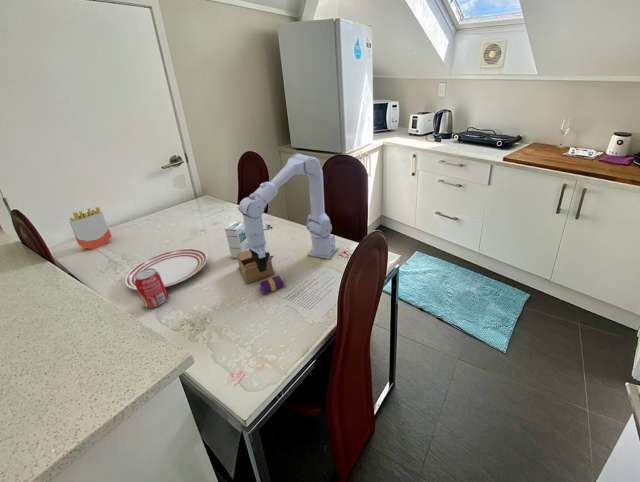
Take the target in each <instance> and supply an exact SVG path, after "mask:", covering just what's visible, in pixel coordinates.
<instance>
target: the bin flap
mask: <svg viewBox="0 0 640 482" xmlns="http://www.w3.org/2000/svg"><path fill="white" fill-rule="evenodd" d="M273 257H274V256H273V255H270V256H269V258H268V261H270V260H271V261H272V259H273ZM255 265H257V264H256V262H252V263H249V264H246V265H245V268H244V269H247V268H250V267H253V266H255Z"/></svg>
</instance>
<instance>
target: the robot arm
mask: <svg viewBox="0 0 640 482" xmlns="http://www.w3.org/2000/svg"><path fill="white" fill-rule="evenodd" d="M298 175H299V176H301V175H302V176H303V175H305V176H307V177H308V186H309V188H308V189H309V202H310V203H309V204H310V213H309V214H308V215H307V220H306V221H307V222H306V224H305V226H306V230H307V231H309V234H310V238H311V239H310V240H311V248H312V250H311V251H310V252H309V254H308V256H311V257H315V258H316V257H317V258H321V259H326V260H327V259H328V260H329V259H330V258H331V257H332V256H333V255H334V253H335V252H336V251H337V248H336V247H337V246H336V237H335V236H334V235H332V234H331V232H332V230H333V226H332V223H331V219H330V217H329V216H328V215H327V214H326V212H325V209H326V208H325V192H324V191H325V190H324V189H325V188H324V173H323V168H322V167H321V161H320V159H318V158H317V157H315V156H311V155H310V156H309V155H306V154H301V153H298V152H297V153H294V154H293V155H292V156H291V157H289V158H288V160H287V162H286V164H285V165H284V166H283V167H282V168H281V169H280V171H279V172H278V173H277V174H276V175H275V176H274V177H273V178H272V179H271V180H270V181H264V182H261V184H259V187H258V188H257V189H256V190H255V191H253V193H250V194H249V196H247V197H244V198H243V199H241V201H240V202H239V205H238V207H237V210H238V212H239V213H240V214H242V217H243V223H244V225H245V231H246V237H247V244H246V245H244V247H245V249H248V248H249V250H250V251H251V254H252V256H251V257H252V259H253V260H254V261H255V262H256V264H257V267H258V270H259V272H264V271H266V267H267V261H268V258H269V257H271V254H270V252H269V251H267V252H266V246H267V241H266V238H265V229H264V222H263V216H262V215H263V214H264V212H265V208H266V207H267V205H268V204H269V203H270V202H271V201H272V200H273V199H274V198H275V197H276V196H277V195H278V193H279V188H281V187H282V186H283V185H284V184H285V183H287V182H288V181H289V180H290V179H291V178H292V177H293V176H298ZM265 252H266V253H265Z"/></svg>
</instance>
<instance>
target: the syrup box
mask: <svg viewBox="0 0 640 482" xmlns="http://www.w3.org/2000/svg"><path fill="white" fill-rule="evenodd" d="M224 232H225V236H226V240H227V244H228V248H229V252H230V257H231V258H233V259H238V258H237V254H238V253H242V252H245V251H248V250H249V248H248V249H245V247H244V245H246V244H247V237H246V231H245V225H244V221H232V222H231V223H230V224H228V225H226V226H225V227H224Z"/></svg>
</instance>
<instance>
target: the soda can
mask: <svg viewBox="0 0 640 482" xmlns="http://www.w3.org/2000/svg"><path fill="white" fill-rule="evenodd" d="M135 285H136V288H137V290H136V291H137V293H138V296H139V299H140V301H141V303H142V305H143V306H144V307H145V308H156V307H159V306H161V305H162V304H163V303H164V302H165V301H167V299H168V295H167V290H166V287H164V284H163V282H162V279H161V276H160V274H159V273H158V272H157V271H156V270H155V269H153V268H150V269H145V270H142V271H140V272H138V273H137V274H136V275H135Z"/></svg>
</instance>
